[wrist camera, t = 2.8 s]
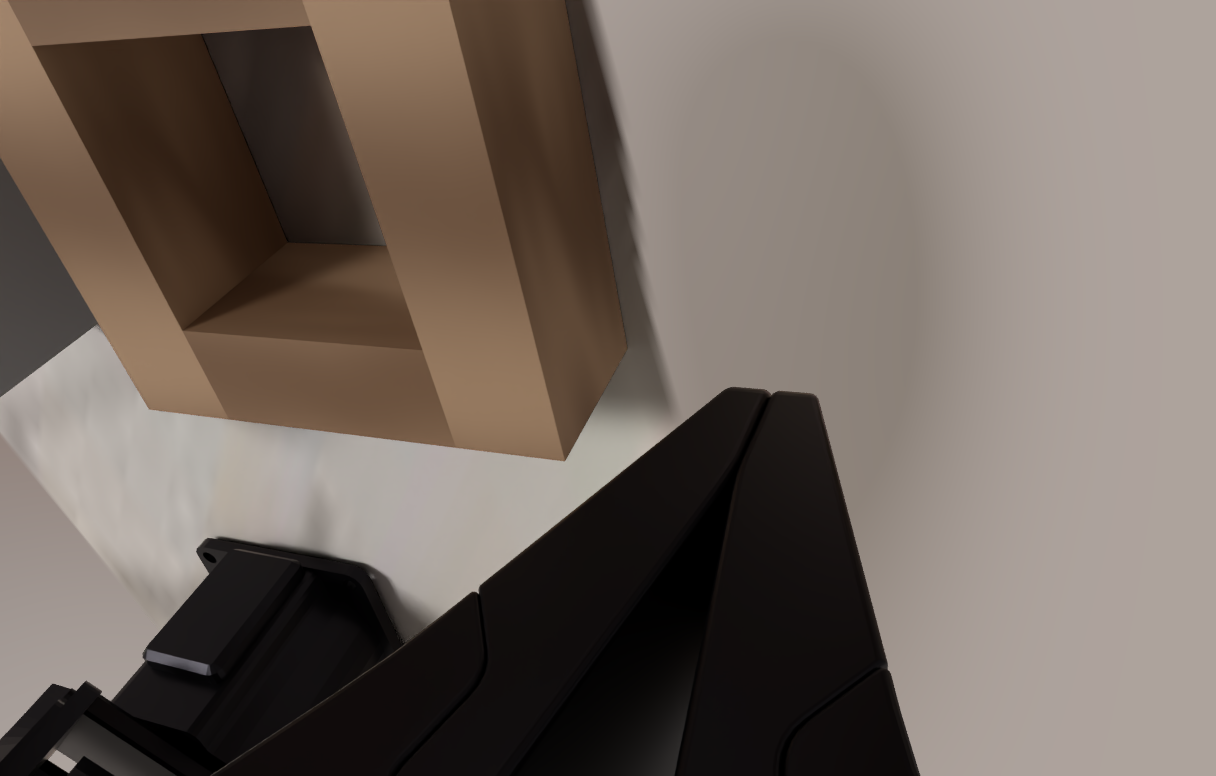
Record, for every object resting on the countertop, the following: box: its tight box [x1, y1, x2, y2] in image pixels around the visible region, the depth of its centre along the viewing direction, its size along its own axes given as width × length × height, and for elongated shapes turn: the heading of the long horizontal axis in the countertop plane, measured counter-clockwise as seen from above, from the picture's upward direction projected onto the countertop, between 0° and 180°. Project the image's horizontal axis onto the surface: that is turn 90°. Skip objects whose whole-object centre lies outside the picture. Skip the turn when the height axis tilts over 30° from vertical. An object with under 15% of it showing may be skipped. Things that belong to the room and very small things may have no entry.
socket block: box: [0, 0, 627, 461], centre depth 16 cm, size 10×10×4 cm
